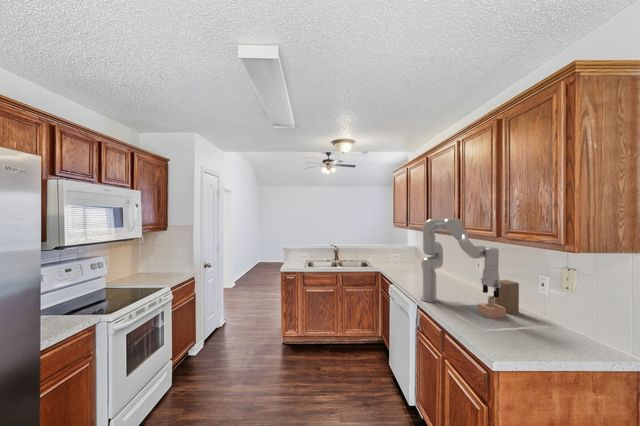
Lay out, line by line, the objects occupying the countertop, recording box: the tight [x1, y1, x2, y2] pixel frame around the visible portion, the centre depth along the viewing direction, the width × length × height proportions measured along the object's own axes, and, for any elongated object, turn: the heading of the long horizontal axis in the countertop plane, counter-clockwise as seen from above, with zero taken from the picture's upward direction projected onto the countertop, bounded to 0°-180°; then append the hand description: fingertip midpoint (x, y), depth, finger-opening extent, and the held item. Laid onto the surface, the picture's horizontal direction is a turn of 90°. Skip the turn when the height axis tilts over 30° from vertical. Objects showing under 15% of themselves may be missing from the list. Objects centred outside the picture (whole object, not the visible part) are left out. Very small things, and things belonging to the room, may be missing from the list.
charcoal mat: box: [459, 304, 510, 320], centre depth 197 cm, size 26×17×1 cm, turn 8°
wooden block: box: [494, 279, 520, 315], centre depth 197 cm, size 10×10×20 cm
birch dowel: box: [487, 295, 495, 308], centre depth 190 cm, size 4×4×10 cm
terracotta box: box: [477, 302, 507, 319], centre depth 190 cm, size 11×11×6 cm
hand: (490, 294), depth 190 cm, fingers open, 9 cm apart
